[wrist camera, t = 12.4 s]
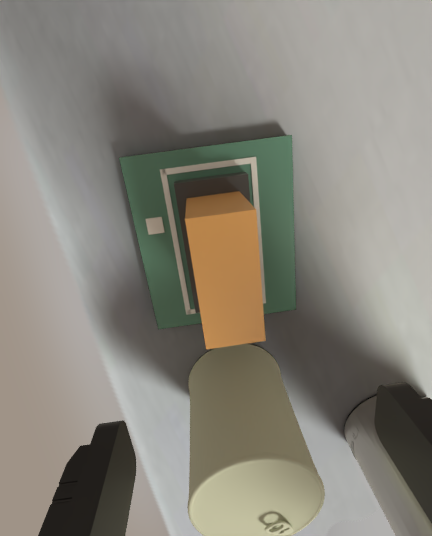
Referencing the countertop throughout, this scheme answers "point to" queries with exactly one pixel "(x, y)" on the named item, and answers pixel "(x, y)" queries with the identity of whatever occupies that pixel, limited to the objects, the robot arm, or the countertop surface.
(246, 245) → the block
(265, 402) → the can
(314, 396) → the countertop surface
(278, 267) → the header board
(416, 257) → the countertop surface
